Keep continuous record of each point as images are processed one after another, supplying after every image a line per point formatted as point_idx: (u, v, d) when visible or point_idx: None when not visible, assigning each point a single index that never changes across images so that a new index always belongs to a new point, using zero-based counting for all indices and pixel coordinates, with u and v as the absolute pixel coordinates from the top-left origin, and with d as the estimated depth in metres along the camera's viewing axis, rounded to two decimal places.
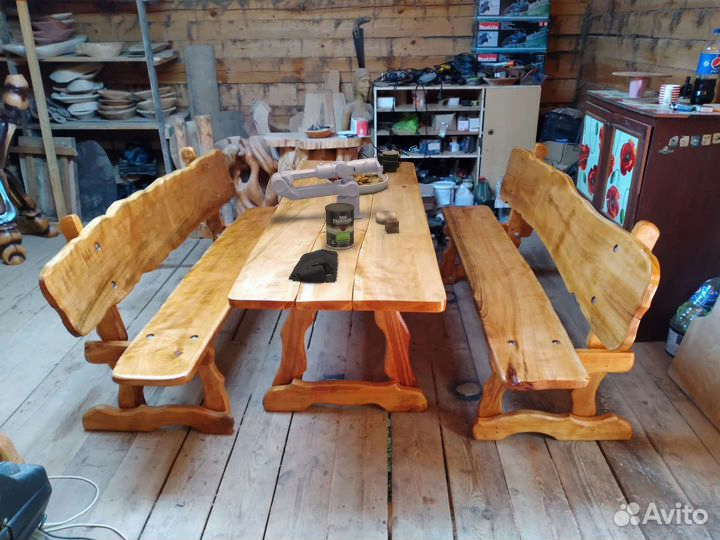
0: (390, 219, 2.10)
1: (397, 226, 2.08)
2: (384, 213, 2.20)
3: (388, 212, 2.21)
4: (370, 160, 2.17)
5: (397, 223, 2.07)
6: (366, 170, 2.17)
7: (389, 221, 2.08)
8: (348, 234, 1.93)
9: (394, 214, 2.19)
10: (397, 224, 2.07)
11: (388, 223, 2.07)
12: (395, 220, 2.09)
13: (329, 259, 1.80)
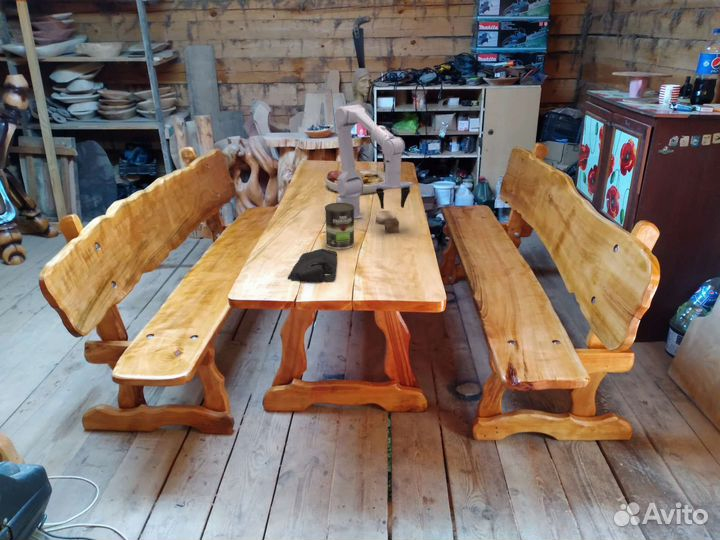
0: (390, 219, 2.10)
1: (397, 226, 2.08)
2: (384, 213, 2.20)
3: (388, 212, 2.21)
4: (390, 180, 2.00)
5: (397, 223, 2.07)
6: None
7: (389, 221, 2.08)
8: (348, 234, 1.93)
9: (394, 214, 2.19)
10: (397, 224, 2.07)
11: (388, 223, 2.07)
12: (395, 220, 2.09)
13: (328, 259, 1.80)
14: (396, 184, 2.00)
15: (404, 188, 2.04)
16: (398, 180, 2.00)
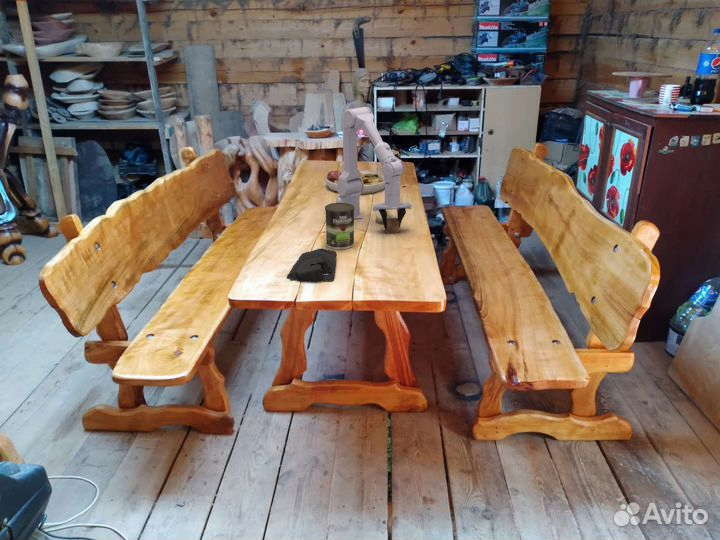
0: (390, 219, 2.10)
1: (397, 226, 2.08)
2: None
3: (388, 212, 2.21)
4: (389, 201, 2.03)
5: (397, 223, 2.07)
6: None
7: (389, 221, 2.08)
8: (348, 234, 1.93)
9: (394, 214, 2.18)
10: (397, 224, 2.07)
11: (388, 223, 2.07)
12: (395, 220, 2.09)
13: (327, 258, 1.81)
14: (396, 205, 2.04)
15: (403, 209, 2.07)
16: (397, 201, 2.04)
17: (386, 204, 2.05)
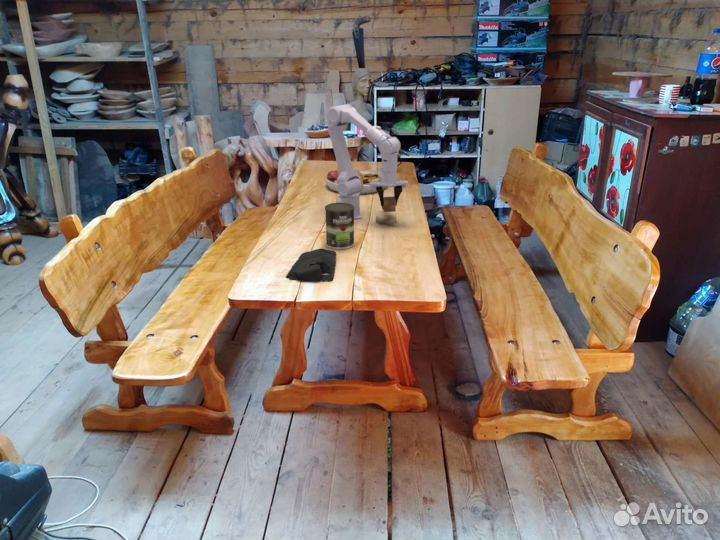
0: (387, 197, 2.12)
1: (394, 204, 2.10)
2: (384, 213, 2.20)
3: (388, 212, 2.21)
4: (386, 179, 2.06)
5: (394, 201, 2.10)
6: None
7: (386, 199, 2.10)
8: (348, 234, 1.93)
9: (394, 214, 2.18)
10: (394, 202, 2.10)
11: (385, 201, 2.09)
12: (392, 198, 2.11)
13: (327, 258, 1.81)
14: (392, 183, 2.07)
15: (400, 186, 2.10)
16: (394, 179, 2.06)
17: (383, 181, 2.07)
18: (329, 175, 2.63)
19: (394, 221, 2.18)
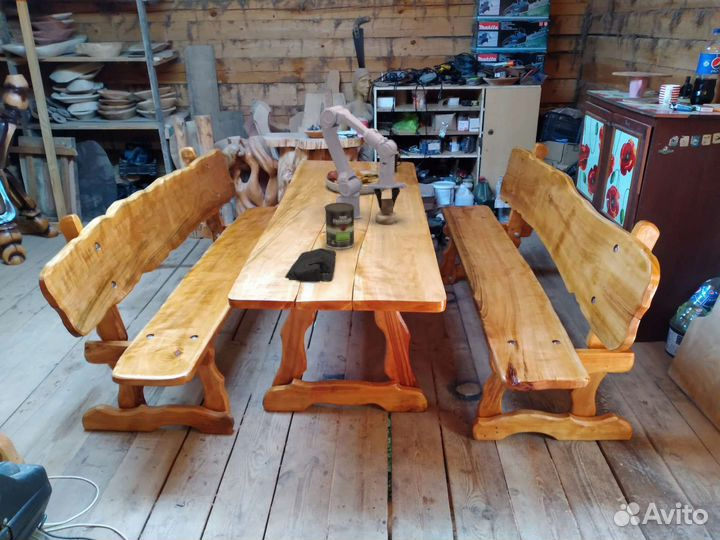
0: (385, 199, 2.17)
1: (392, 206, 2.15)
2: (384, 213, 2.20)
3: None
4: (384, 181, 2.11)
5: (391, 203, 2.15)
6: None
7: (384, 201, 2.15)
8: (348, 234, 1.93)
9: (394, 214, 2.18)
10: (391, 204, 2.15)
11: (383, 203, 2.14)
12: (390, 200, 2.16)
13: (326, 258, 1.81)
14: (390, 184, 2.12)
15: (397, 188, 2.15)
16: (392, 181, 2.12)
17: (381, 183, 2.12)
18: (329, 175, 2.63)
19: (394, 221, 2.18)
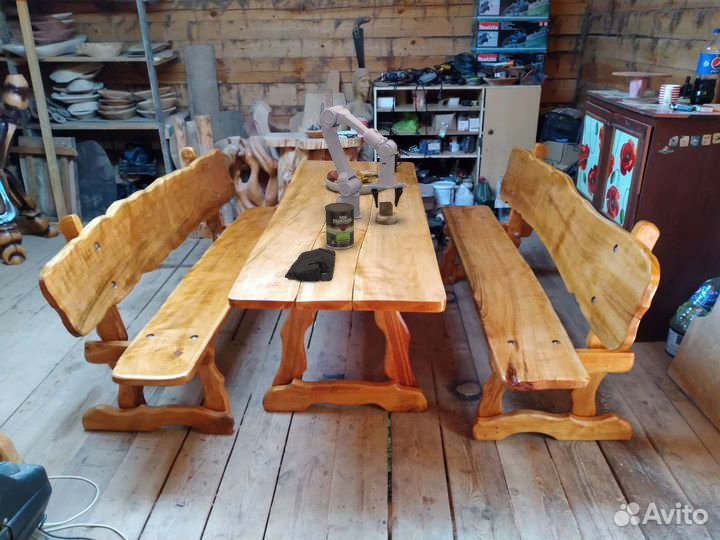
0: (384, 202, 2.18)
1: (391, 209, 2.16)
2: None
3: None
4: (384, 181, 2.11)
5: (391, 206, 2.15)
6: None
7: (383, 204, 2.16)
8: (348, 234, 1.93)
9: (394, 214, 2.18)
10: (391, 207, 2.16)
11: (382, 206, 2.15)
12: (389, 203, 2.17)
13: (326, 258, 1.81)
14: (390, 184, 2.12)
15: (397, 188, 2.15)
16: (392, 181, 2.12)
17: (381, 183, 2.12)
18: (329, 175, 2.63)
19: (394, 221, 2.18)
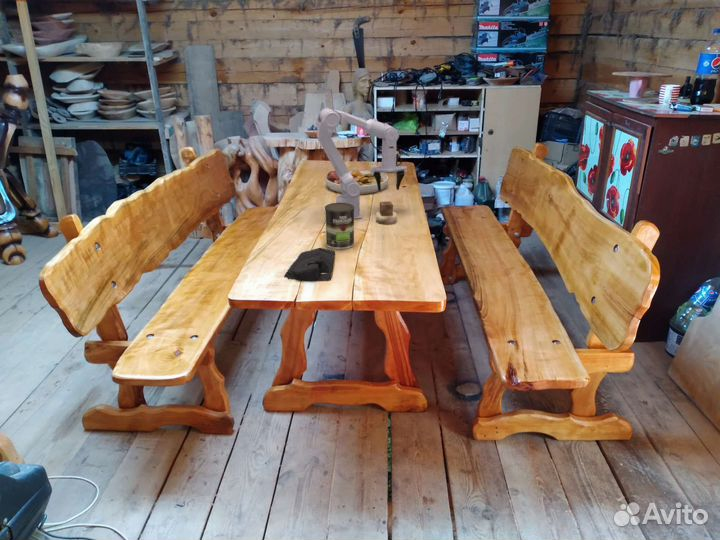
0: (384, 202, 2.18)
1: (391, 209, 2.16)
2: None
3: None
4: (386, 164, 2.20)
5: (391, 206, 2.16)
6: None
7: (383, 204, 2.16)
8: (348, 234, 1.93)
9: (394, 214, 2.19)
10: (391, 207, 2.16)
11: (382, 206, 2.15)
12: (389, 203, 2.17)
13: (325, 258, 1.81)
14: (392, 168, 2.20)
15: (399, 172, 2.23)
16: (394, 164, 2.20)
17: (383, 167, 2.21)
18: (329, 175, 2.63)
19: (394, 221, 2.18)
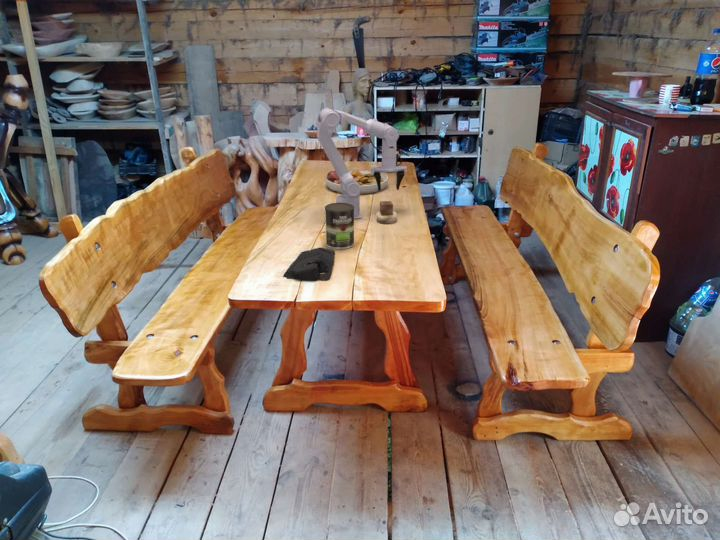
0: (385, 202, 2.19)
1: (391, 209, 2.17)
2: None
3: None
4: (386, 164, 2.20)
5: (391, 205, 2.16)
6: None
7: (383, 203, 2.17)
8: (348, 234, 1.93)
9: (394, 214, 2.19)
10: (391, 206, 2.16)
11: (382, 205, 2.16)
12: (389, 203, 2.18)
13: (325, 258, 1.81)
14: (392, 168, 2.20)
15: (399, 172, 2.24)
16: (394, 164, 2.20)
17: (383, 167, 2.21)
18: (329, 175, 2.63)
19: (394, 221, 2.19)
